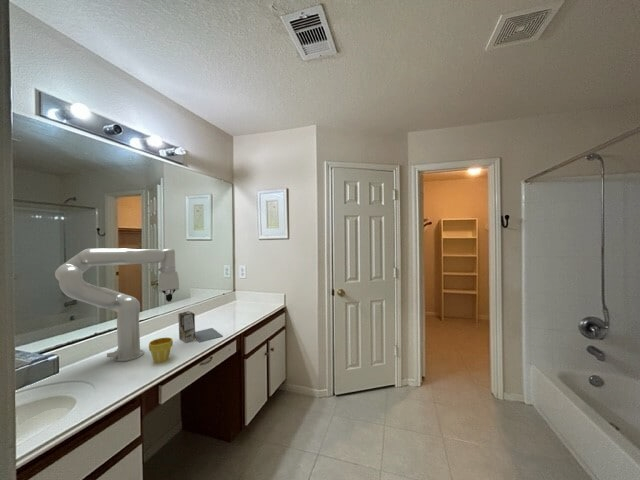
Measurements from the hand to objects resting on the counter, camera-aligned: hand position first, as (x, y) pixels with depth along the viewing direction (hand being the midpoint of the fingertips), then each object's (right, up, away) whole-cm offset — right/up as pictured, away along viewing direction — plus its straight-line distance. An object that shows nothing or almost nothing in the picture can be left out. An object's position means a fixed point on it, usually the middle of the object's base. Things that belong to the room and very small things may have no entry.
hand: (169, 301), depth 157 cm
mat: (+16, -24, +13) cm, 32 cm away
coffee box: (+8, -25, +6) cm, 27 cm away
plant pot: (+8, -25, -21) cm, 34 cm away
